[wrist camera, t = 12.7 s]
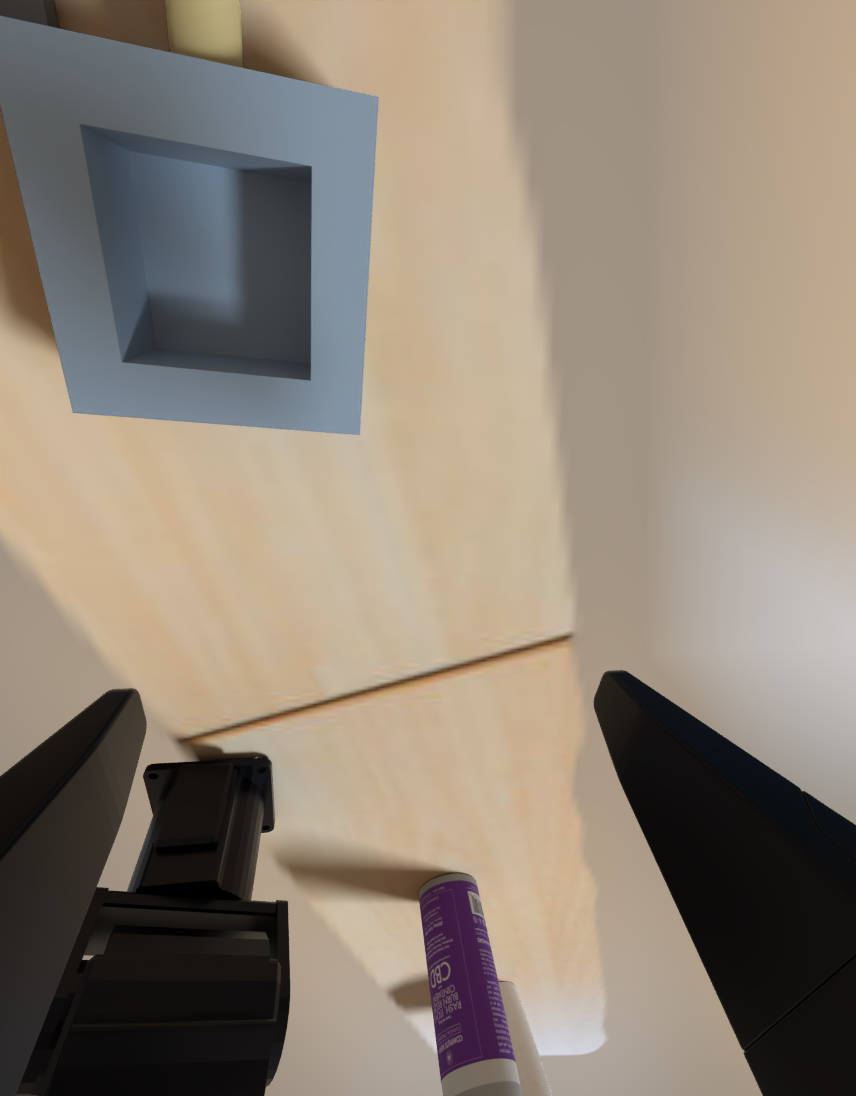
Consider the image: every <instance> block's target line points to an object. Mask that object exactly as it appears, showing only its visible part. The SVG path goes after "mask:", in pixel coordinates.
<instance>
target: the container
mask: <svg viewBox="0 0 856 1096" xmlns="http://www.w3.org/2000/svg"><path fill="white" fill-rule="evenodd" d="M419 902H420V910H421V919H422V927H423V935H424V944H425V952H426V960H427V968H428V977H429V985H430V993H431V1002H432V1010H433V1018H434V1026H435V1035H436V1043H437V1051H438V1060H439V1067H440V1076H441V1084H442V1091H443V1096H522V1091H521V1086H520V1081H519V1076H518V1071H517V1066H516V1060H515V1056H514V1051H513V1047H512V1042H511V1038H510V1033H509V1028H508V1024H507V1019H506V1015H505V1010H504V1006H503V1001H502V997H501V992H500V988H499V983H498V978H497V974H496V969H495V965H494V960H493V956H492V951H491V947H490V942H489V937H488V933H487V928H486V924H485V919H484V915H483V910H482V906H481V901H480V896H479V892H478V888H477V883H476V880H475V879H474V878H473V877H472V876H470V875H467V874H461V873H453V874H446V875H442V876H439V877H436V878H434V879H432V880H430V881H429V882H427V883H426V884H425V885H423V886H422V888H421V889H420V891H419Z"/></svg>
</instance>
